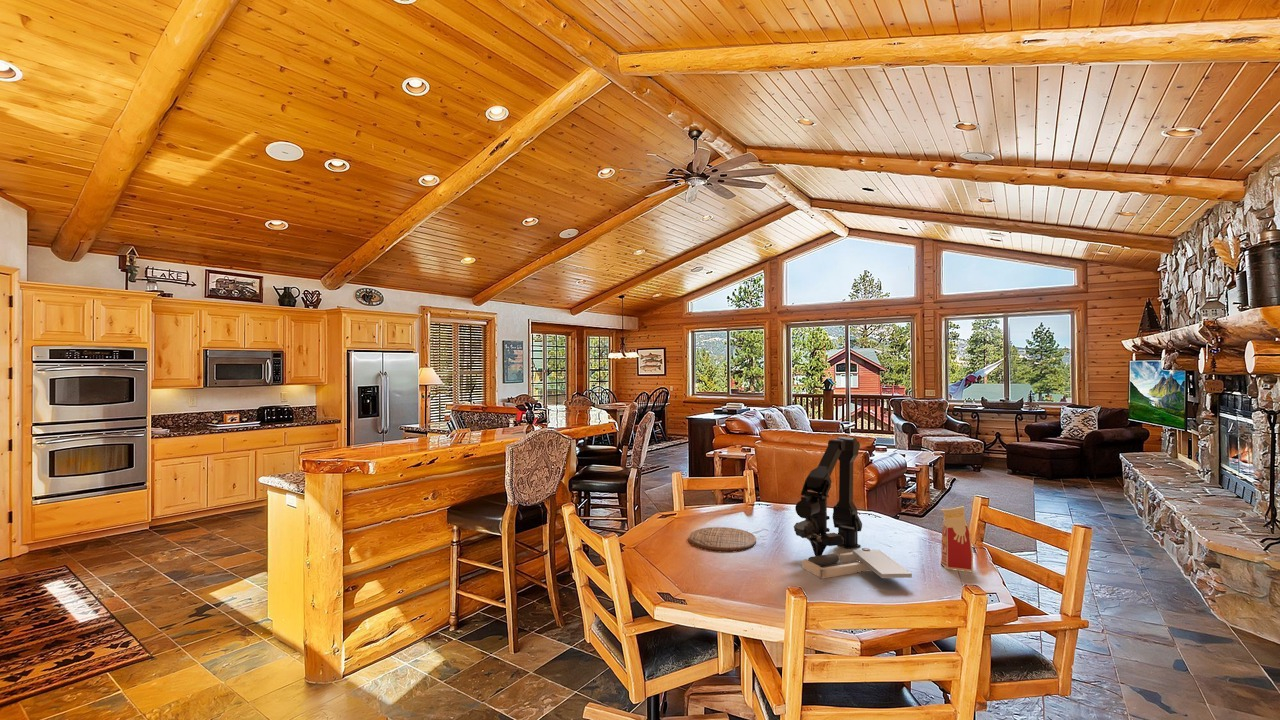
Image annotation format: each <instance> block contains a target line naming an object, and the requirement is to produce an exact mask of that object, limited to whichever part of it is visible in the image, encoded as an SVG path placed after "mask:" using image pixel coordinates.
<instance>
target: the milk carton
mask: <svg viewBox="0 0 1280 720" xmlns="http://www.w3.org/2000/svg"><path fill="white" fill-rule="evenodd" d="M940 511H941V512H942V514H943V520H942V521H943V522H942V527H941V528H942V530H941V548H940V550H941V551H940V552H941V560H940V565H941V564H942V565H943V566H944V567H943V566H942V565H941V566H942V567H943V568H945V567H946V568H947V569H946V568H945V569H946V570H950V569H956V570H955V571H960V570H964V571H963V572H967V571H971V572H970V573H973V572H974V553H973V544H972V537H971V533H970V529H969V526H968V524H967V520H966V516H965V505H963V506H958V507H954V508H943V509H940Z"/></svg>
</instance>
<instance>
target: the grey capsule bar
mask: <svg viewBox="0 0 1280 720" xmlns="http://www.w3.org/2000/svg"><path fill="white" fill-rule="evenodd" d="M807 560H808V561H810V562H812V563H814V564H816V565H818V566H820V567H822V566H827V565H828V566H829V565H833V564H834V565H836V564H837V563H838V562H840V556H839V555H838V554H837V553H828V554H822V555H820V556H815V555H814V556H810V557H808V559H807Z"/></svg>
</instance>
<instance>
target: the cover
mask: <svg viewBox="0 0 1280 720" xmlns="http://www.w3.org/2000/svg"><path fill="white" fill-rule="evenodd" d="M852 552H853V554H854V555H855V556H856V557H857V558H858V559H860V560H861V561H862V562H863V563H864V564H866V565H867V566H868V567H869V568H870V569H872V570H871V571H873V572H874V573H875V574H876V575H877V576H879V577H880V578H882V579H898V578H899V579H902V578H903V579H905V578H912V576H913V573H912V572H911V571H909V570H908V569H906V568H905V567H904V566H902V565H901V564H900V563H898V562H896V560H894V559H893V558H891V557H890V556H889V555H887V554H886V553H884V552H883V551H882V550H881V549H870V548H867V547H863V548H861V549H852Z"/></svg>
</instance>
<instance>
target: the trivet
mask: <svg viewBox="0 0 1280 720" xmlns="http://www.w3.org/2000/svg"><path fill="white" fill-rule="evenodd" d="M688 539H689V540H688V541H689V542H690V543H689V544H691V545H692V544H693V545H692V546H695V547H696V548H698V547H699V548H698V549H701V548H702V550H705V549H706V551H710V550H711V551H710V552H718V551H721V552H722V553H733V551H736V552H741V551H742V550H743V551H747V550H750V549H752V548H754V547H755V546H756V545H757V538H756V535H754V534H753V533H751V532H749V531H748V530H744V529H740V528H734V527H725V526H723V527H721V526H720V527H719V526H712V527H704V528H699V529H695V530H694V531H691V532H690V533H689V534H688ZM754 545H755V546H754ZM753 546H754V547H753ZM751 547H752V548H751ZM749 548H750V549H749ZM746 549H747V550H746ZM743 551H742V552H743ZM721 552H720V553H721Z"/></svg>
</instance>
